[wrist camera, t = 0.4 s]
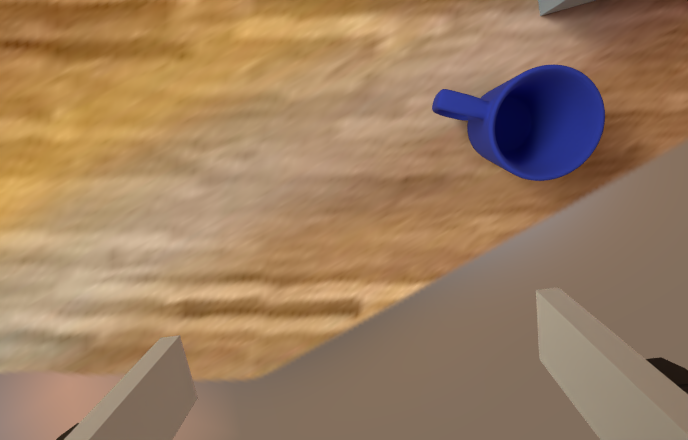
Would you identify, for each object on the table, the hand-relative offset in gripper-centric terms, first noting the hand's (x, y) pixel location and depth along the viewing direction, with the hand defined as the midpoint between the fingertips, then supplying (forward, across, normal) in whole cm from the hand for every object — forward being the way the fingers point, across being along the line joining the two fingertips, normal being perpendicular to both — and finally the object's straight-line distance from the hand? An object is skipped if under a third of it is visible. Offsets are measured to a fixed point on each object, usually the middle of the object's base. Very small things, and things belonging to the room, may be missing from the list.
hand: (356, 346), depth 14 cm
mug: (+27, +13, +6) cm, 31 cm away
